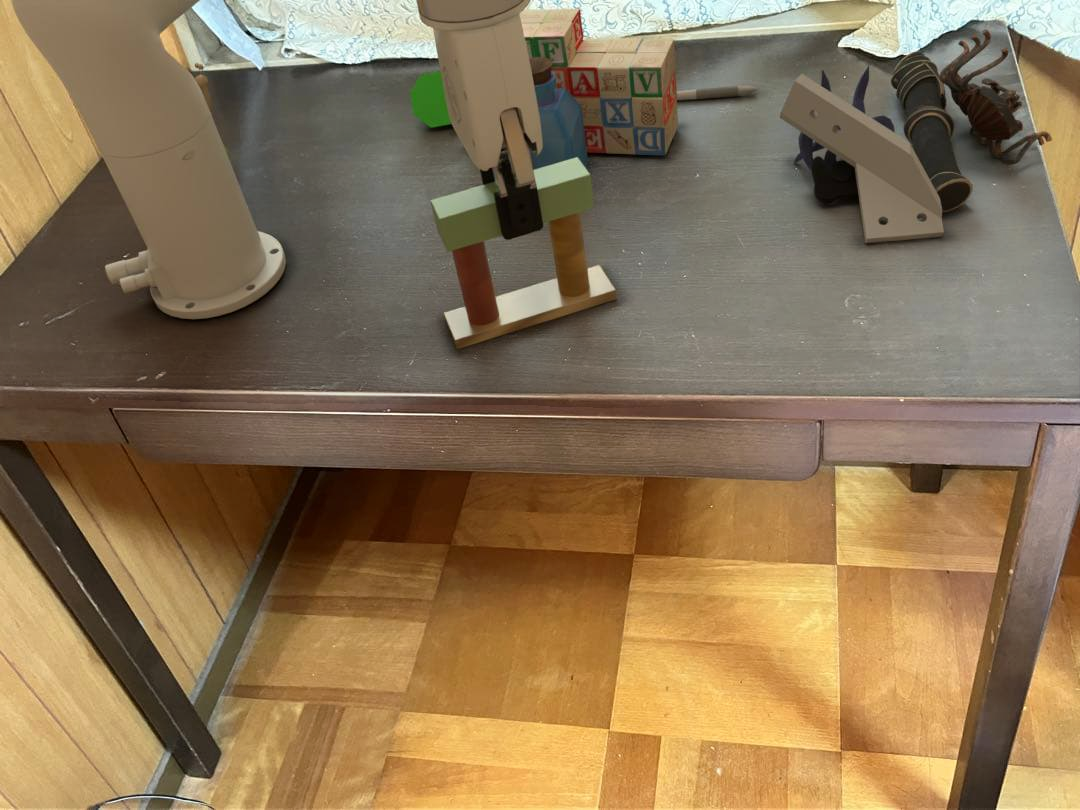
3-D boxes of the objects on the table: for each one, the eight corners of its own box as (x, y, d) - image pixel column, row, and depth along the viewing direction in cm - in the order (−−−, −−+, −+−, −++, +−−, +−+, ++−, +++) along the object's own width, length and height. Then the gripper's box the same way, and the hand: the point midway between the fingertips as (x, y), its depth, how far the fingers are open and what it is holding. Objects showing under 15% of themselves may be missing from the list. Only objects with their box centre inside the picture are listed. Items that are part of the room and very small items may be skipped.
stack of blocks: (680, 125, 103) (674, 6, 94) (666, 157, 99) (659, 36, 90) (485, 119, 110) (464, 7, 101) (465, 149, 105) (441, 35, 97)
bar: (582, 189, 80) (577, 156, 78) (594, 208, 78) (590, 174, 76) (438, 232, 79) (429, 199, 77) (447, 252, 77) (439, 219, 75)
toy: (957, 15, 92) (908, 50, 93) (1012, 38, 82) (956, 76, 83) (1013, 124, 97) (965, 155, 98) (1072, 158, 86) (1017, 192, 88)
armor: (983, 183, 83) (947, 44, 100) (918, 174, 83) (894, 36, 100) (964, 225, 86) (933, 83, 103) (902, 216, 86) (881, 75, 103)
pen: (624, 108, 107) (624, 102, 108) (758, 97, 105) (757, 91, 106) (623, 99, 107) (624, 93, 108) (758, 88, 104) (757, 82, 105)
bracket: (778, 101, 91) (794, 249, 86) (780, 75, 88) (798, 228, 82) (916, 86, 89) (941, 236, 84) (924, 59, 86) (951, 214, 81)
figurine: (810, 60, 89) (784, 101, 96) (811, 190, 87) (784, 221, 94) (916, 68, 89) (881, 107, 97) (919, 197, 87) (883, 227, 95)
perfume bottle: (577, 198, 96) (561, 80, 88) (514, 198, 98) (493, 82, 89) (588, 163, 100) (574, 48, 92) (528, 164, 102) (508, 50, 94)
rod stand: (457, 349, 82) (433, 260, 76) (445, 321, 85) (422, 233, 79) (617, 299, 84) (607, 207, 78) (600, 273, 87) (589, 183, 81)
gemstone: (474, 108, 108) (482, 110, 114) (444, 58, 107) (453, 63, 113) (428, 139, 110) (438, 139, 115) (398, 89, 109) (409, 93, 114)
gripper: (391, -40, 71) (445, 185, 84) (446, 46, 60) (499, 292, 72) (491, -67, 72) (530, 160, 85) (565, 13, 61) (597, 262, 73)
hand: (515, 218), depth 78 cm, fingers closed on bar, 3 cm apart
